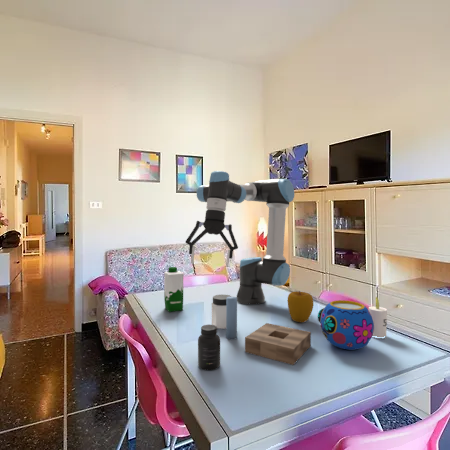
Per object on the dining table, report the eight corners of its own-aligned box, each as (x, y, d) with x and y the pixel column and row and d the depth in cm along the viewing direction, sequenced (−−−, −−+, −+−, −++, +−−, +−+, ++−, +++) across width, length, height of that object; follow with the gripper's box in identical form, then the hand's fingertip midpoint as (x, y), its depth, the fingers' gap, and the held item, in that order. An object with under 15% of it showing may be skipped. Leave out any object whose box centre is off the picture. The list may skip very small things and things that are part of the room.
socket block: (266, 336, 122) (266, 323, 122) (310, 346, 113) (310, 332, 112) (245, 352, 107) (245, 337, 107) (293, 365, 98) (293, 349, 98)
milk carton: (180, 305, 161) (180, 266, 161) (185, 310, 153) (185, 269, 153) (162, 307, 158) (162, 267, 157) (167, 312, 150) (167, 270, 149)
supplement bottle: (197, 361, 101) (197, 323, 100) (219, 360, 101) (219, 322, 101) (197, 371, 94) (197, 331, 94) (221, 370, 95) (221, 330, 94)
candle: (379, 340, 118) (380, 300, 118) (364, 334, 124) (365, 296, 123) (390, 337, 121) (391, 298, 121) (375, 331, 127) (376, 294, 126)
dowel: (229, 334, 123) (230, 295, 123) (238, 336, 121) (239, 297, 120) (224, 337, 120) (224, 298, 119) (233, 340, 118) (233, 299, 117)
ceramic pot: (314, 336, 122) (314, 297, 121) (361, 337, 121) (362, 298, 120) (327, 357, 104) (328, 311, 104) (382, 358, 103) (383, 312, 103)
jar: (236, 327, 131) (236, 298, 131) (218, 330, 127) (218, 300, 127) (226, 320, 139) (226, 293, 139) (209, 323, 136) (209, 295, 135)
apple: (314, 318, 143) (315, 289, 142) (310, 326, 133) (311, 295, 132) (290, 315, 147) (290, 287, 147) (284, 322, 137) (284, 292, 137)
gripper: (182, 205, 121) (175, 261, 119) (248, 212, 121) (242, 269, 119) (185, 208, 129) (178, 261, 126) (246, 215, 129) (241, 268, 126)
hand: (209, 265), depth 123 cm, fingers open, 13 cm apart
